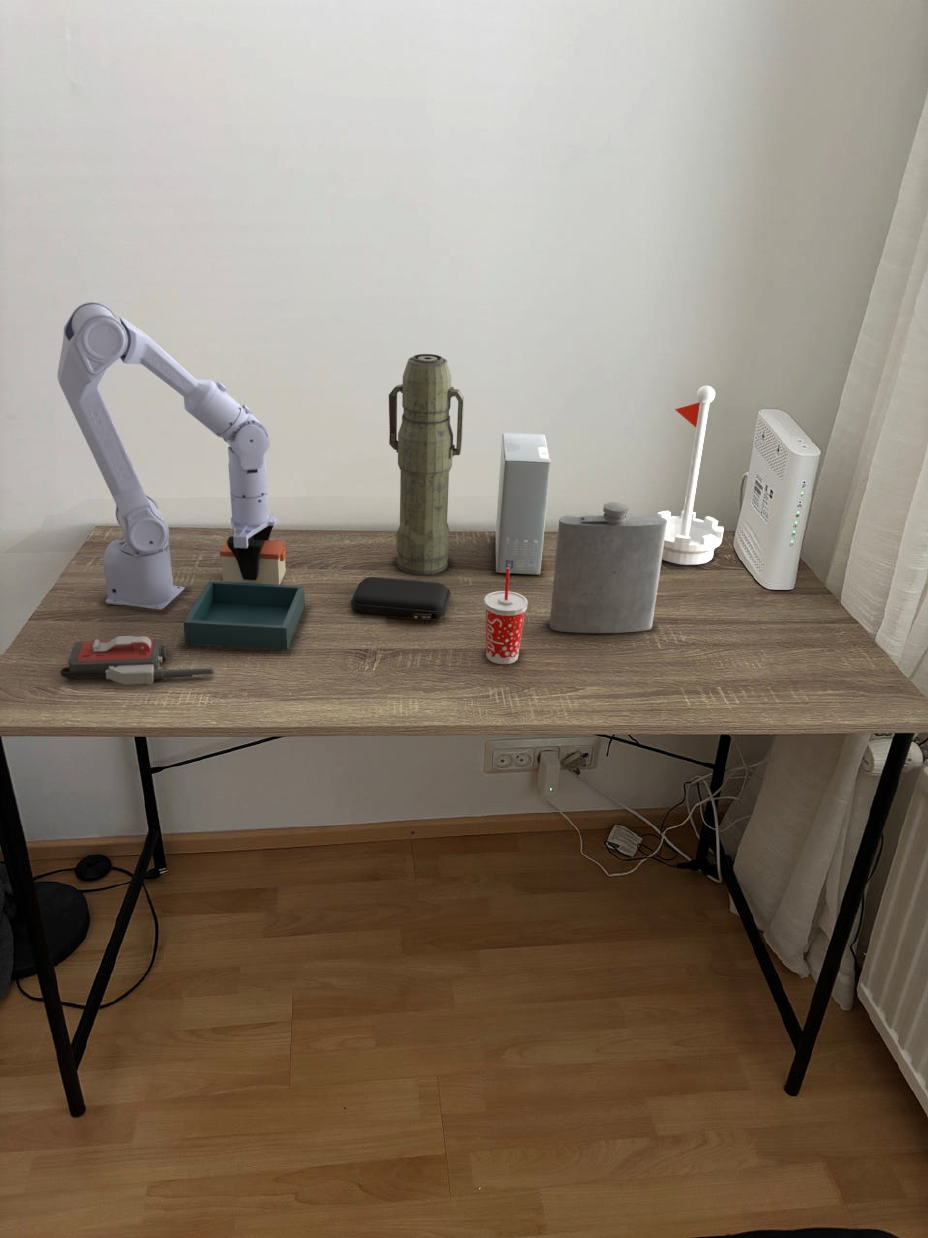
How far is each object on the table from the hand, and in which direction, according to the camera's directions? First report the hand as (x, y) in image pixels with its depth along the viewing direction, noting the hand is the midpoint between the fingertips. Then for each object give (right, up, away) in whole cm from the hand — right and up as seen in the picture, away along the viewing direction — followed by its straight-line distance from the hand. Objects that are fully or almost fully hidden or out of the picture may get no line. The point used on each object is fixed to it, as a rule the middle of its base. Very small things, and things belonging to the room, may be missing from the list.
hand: (254, 571), depth 164 cm
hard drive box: (+43, +3, +14) cm, 45 cm away
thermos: (+27, +2, +10) cm, 28 cm away
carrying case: (+24, -6, -5) cm, 25 cm away
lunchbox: (0, -1, +1) cm, 1 cm away
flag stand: (+73, +4, +19) cm, 75 cm away
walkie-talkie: (-10, -15, -25) cm, 31 cm away
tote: (+2, -9, -13) cm, 16 cm away
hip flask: (+55, -9, -8) cm, 56 cm away
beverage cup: (+39, -13, -17) cm, 45 cm away
